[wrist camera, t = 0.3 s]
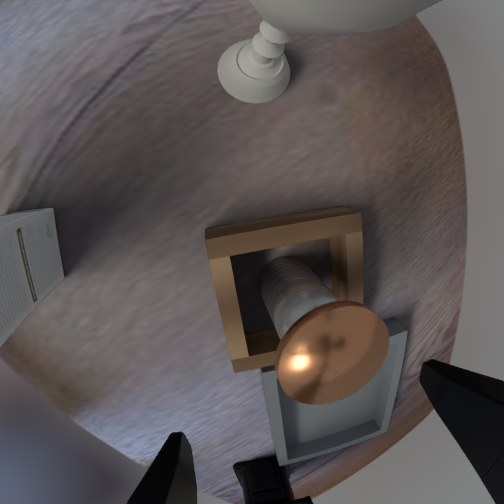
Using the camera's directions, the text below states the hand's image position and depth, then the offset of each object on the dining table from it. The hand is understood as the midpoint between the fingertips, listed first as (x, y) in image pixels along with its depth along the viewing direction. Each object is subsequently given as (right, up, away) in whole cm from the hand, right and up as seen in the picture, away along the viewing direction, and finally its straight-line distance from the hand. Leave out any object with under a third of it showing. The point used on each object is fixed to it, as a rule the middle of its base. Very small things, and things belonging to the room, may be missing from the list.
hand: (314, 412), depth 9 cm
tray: (+6, -9, +17) cm, 21 cm away
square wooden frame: (0, +3, +13) cm, 14 cm away
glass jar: (0, +3, +13) cm, 14 cm away
